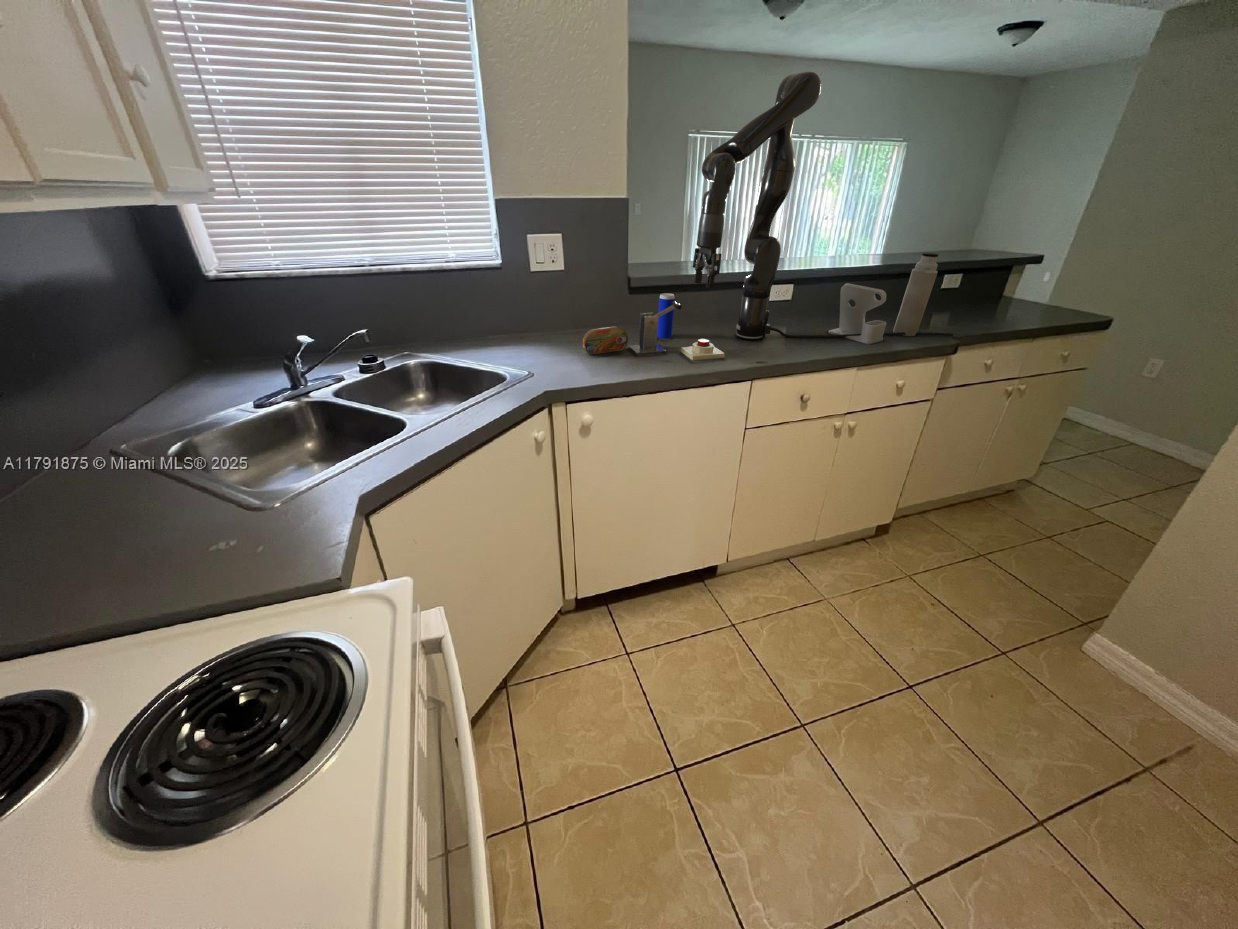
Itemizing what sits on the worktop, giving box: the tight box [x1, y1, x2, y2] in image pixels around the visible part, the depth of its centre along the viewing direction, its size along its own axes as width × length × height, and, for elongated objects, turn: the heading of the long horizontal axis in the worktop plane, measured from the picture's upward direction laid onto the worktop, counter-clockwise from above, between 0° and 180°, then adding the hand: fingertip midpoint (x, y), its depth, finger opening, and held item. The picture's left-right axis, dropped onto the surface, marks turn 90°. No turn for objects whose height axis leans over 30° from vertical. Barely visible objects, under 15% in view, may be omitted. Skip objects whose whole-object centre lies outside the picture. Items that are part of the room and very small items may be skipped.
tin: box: [582, 325, 629, 356], centre depth 152 cm, size 15×3×8 cm, turn 117°
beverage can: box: [657, 292, 676, 340], centre depth 167 cm, size 5×5×15 cm
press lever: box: [643, 301, 683, 321], centre depth 153 cm, size 12×5×2 cm, turn 106°
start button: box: [697, 338, 711, 347], centre depth 152 cm, size 4×4×2 cm
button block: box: [680, 341, 726, 361], centre depth 153 cm, size 11×9×4 cm
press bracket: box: [628, 312, 667, 355], centre depth 155 cm, size 10×8×12 cm
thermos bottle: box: [892, 252, 939, 337], centre depth 176 cm, size 8×8×28 cm
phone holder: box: [828, 282, 887, 345], centre depth 174 cm, size 17×10×18 cm, turn 34°
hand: (703, 285), depth 157 cm, fingers open, 8 cm apart
